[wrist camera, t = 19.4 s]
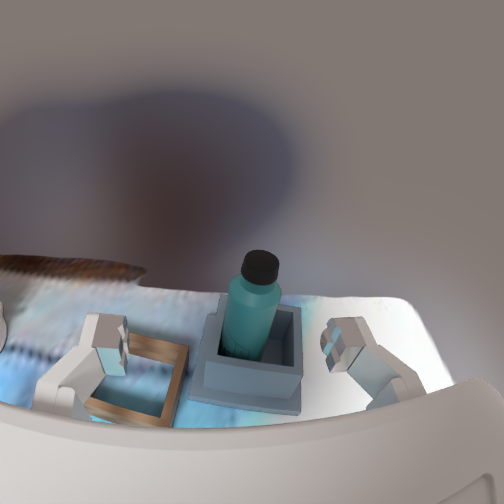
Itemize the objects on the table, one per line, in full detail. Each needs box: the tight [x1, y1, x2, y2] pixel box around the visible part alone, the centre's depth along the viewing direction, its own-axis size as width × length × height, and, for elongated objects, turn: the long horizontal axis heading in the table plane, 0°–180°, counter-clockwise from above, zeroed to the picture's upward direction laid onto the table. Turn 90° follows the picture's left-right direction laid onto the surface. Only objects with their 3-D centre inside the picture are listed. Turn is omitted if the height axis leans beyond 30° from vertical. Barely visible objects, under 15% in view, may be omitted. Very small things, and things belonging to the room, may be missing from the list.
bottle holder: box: [188, 294, 303, 416], centre depth 44 cm, size 16×16×8 cm
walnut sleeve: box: [83, 332, 189, 428], centre depth 39 cm, size 13×13×4 cm
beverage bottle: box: [218, 250, 281, 362], centre depth 40 cm, size 6×7×20 cm
